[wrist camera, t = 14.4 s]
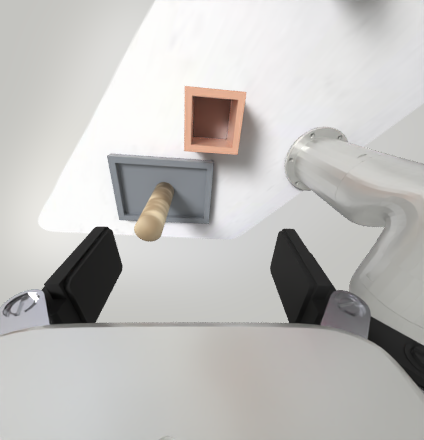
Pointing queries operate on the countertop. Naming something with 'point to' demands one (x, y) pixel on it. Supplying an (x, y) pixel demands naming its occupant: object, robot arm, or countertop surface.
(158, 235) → the dowel
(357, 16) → the countertop surface
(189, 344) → the robot arm
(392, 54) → the countertop surface
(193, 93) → the deep cup
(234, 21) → the countertop surface
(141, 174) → the tray
